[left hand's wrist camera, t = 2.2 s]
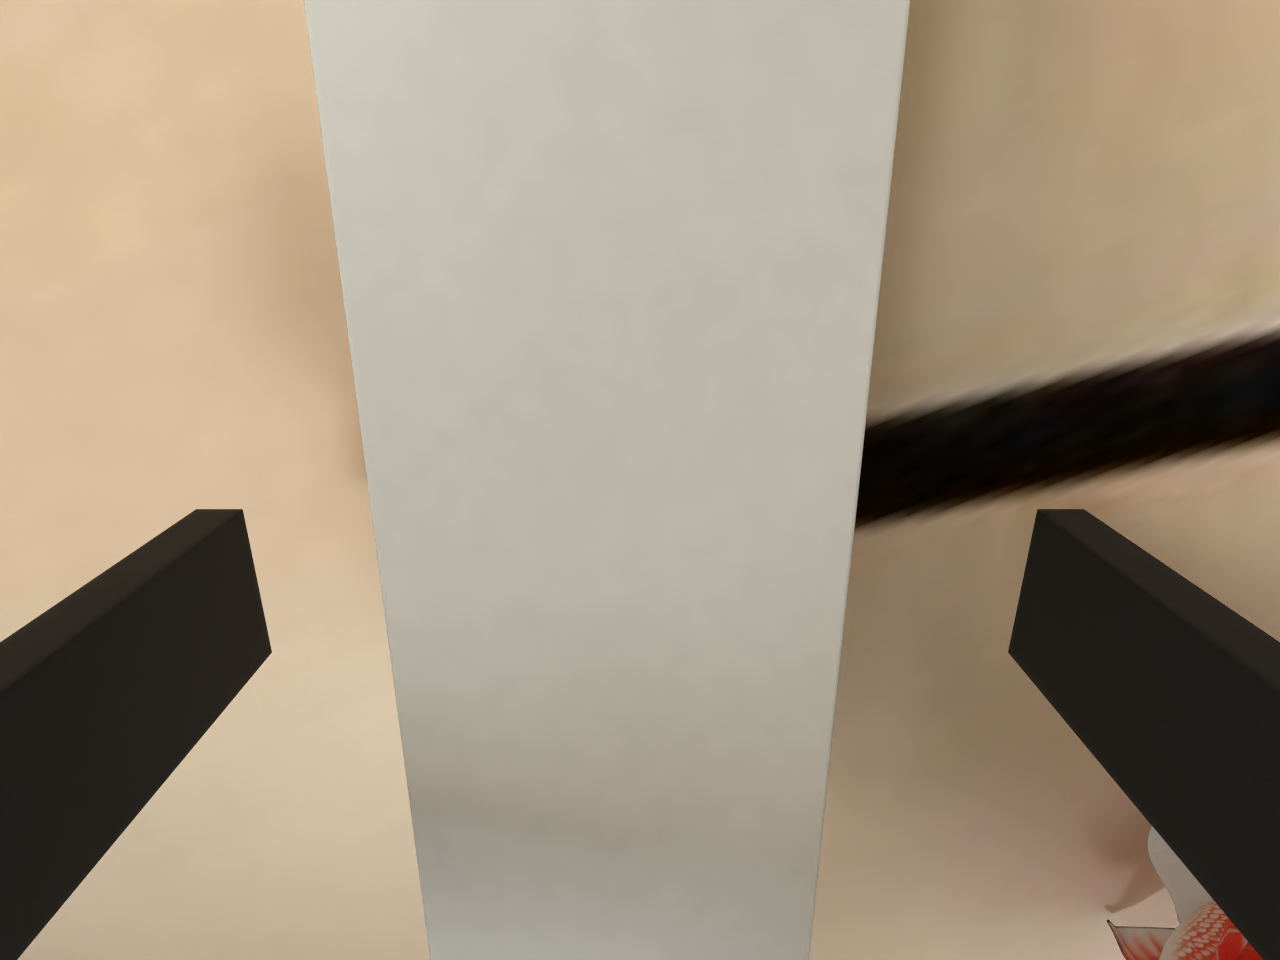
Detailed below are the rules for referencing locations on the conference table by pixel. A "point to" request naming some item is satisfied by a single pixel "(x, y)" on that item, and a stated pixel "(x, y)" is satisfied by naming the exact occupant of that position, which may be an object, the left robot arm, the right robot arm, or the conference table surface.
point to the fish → (1183, 919)
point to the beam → (612, 442)
